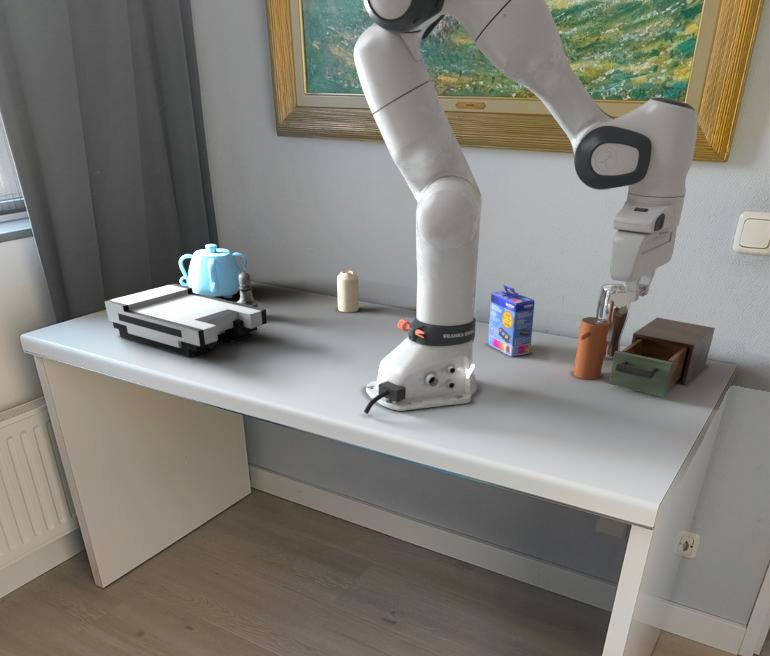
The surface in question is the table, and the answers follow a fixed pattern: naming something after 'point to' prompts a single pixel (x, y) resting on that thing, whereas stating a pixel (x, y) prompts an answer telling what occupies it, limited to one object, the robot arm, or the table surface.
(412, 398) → the robot arm
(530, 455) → the table surface
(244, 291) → the salt shaker
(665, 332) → the cabinet
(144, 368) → the table surface
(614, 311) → the beer glass
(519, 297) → the ink cartridge box
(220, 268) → the decorative pot
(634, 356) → the drawer
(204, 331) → the game console
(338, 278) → the candle
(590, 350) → the orange mug
